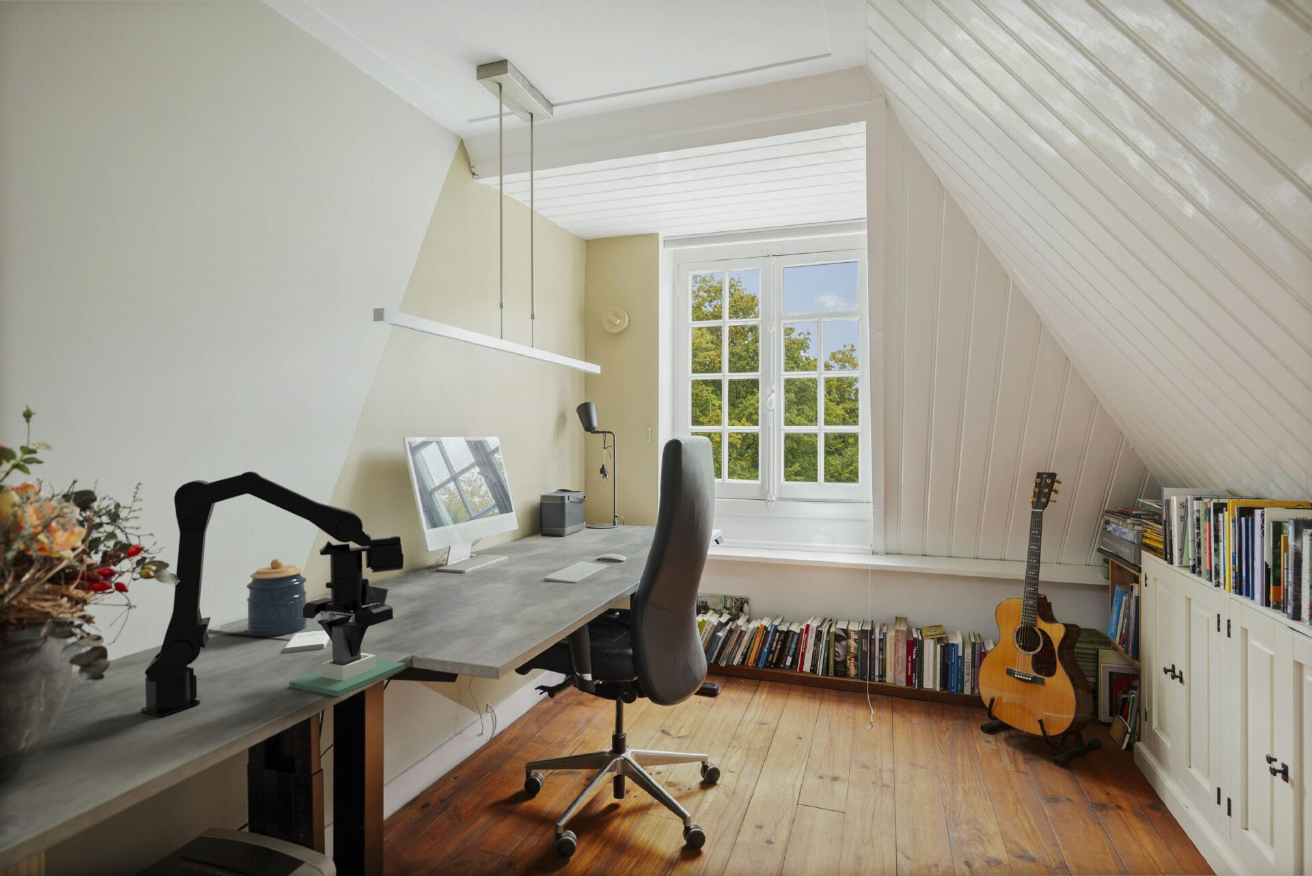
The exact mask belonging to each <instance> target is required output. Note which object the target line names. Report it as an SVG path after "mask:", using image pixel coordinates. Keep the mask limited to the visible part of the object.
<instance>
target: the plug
mask: <svg viewBox="0 0 1312 876" xmlns="http://www.w3.org/2000/svg"><path fill="white" fill-rule="evenodd" d="M350 622H351V621H349V622H347V623H350ZM347 623H344V624H347ZM344 624H340V625H337V626H334V627H332V641H331V645H332V647H331V648H332V653H331V654H332V660H333V664H336V665H342V666H344V665H347V664H350V663H352V662H355V661H358V660H360V659H361V653H362V652H361V651H362V649H361V646H362V645H361V646H360V649H359V652H358V655H357V656H355V657H352V656H351V653H350V650H349V647H348V643H347V639H346V635H345V631H344V628H343V625H344Z"/></svg>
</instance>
